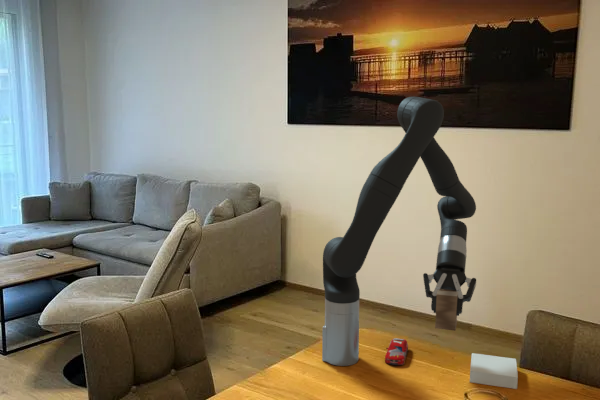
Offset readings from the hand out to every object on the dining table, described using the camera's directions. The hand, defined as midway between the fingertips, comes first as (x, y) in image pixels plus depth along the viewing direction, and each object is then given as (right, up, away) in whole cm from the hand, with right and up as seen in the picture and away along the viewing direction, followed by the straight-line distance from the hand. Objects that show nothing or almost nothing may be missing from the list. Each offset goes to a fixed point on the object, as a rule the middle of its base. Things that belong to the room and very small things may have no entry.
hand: (446, 312), depth 141 cm
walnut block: (+1, -4, +2) cm, 5 cm away
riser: (+12, -16, 0) cm, 20 cm away
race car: (-11, -15, +12) cm, 22 cm away
